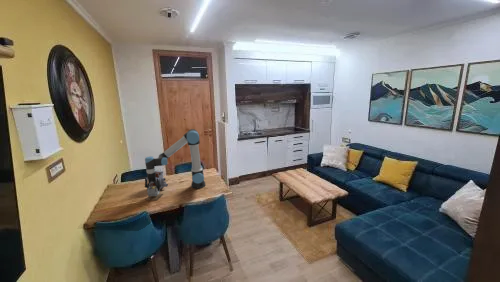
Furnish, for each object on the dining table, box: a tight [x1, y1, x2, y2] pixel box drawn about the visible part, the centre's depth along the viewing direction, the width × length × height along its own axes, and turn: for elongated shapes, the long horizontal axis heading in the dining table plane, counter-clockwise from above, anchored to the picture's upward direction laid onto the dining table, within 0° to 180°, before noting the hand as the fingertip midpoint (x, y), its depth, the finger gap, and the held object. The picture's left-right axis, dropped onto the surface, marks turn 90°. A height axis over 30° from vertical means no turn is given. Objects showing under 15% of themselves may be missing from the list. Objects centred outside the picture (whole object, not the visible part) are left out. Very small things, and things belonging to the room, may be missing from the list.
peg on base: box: [144, 187, 164, 201], centre depth 213 cm, size 12×12×11 cm
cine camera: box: [148, 170, 169, 191], centre depth 231 cm, size 9×19×20 cm, turn 78°
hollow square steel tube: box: [146, 186, 161, 197], centre depth 213 cm, size 8×8×7 cm
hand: (154, 193), depth 214 cm, fingers closed on hollow square steel tube, 8 cm apart
